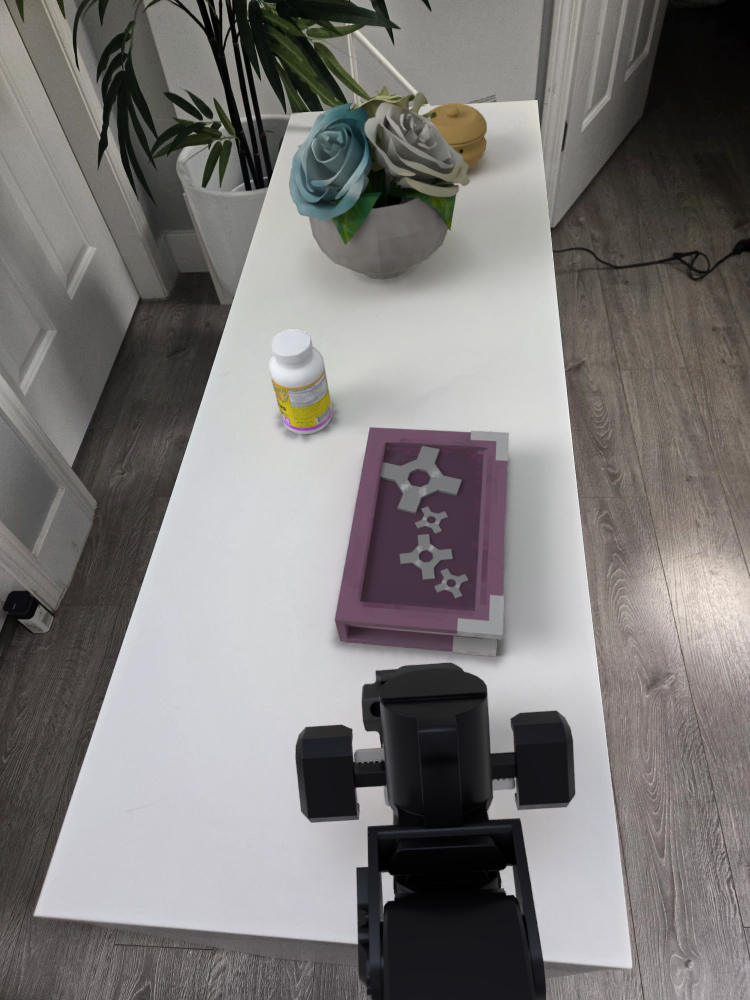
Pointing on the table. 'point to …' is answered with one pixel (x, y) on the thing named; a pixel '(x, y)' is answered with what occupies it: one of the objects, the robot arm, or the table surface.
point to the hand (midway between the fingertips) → (428, 712)
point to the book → (427, 542)
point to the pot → (462, 130)
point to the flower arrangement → (377, 184)
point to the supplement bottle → (300, 382)
